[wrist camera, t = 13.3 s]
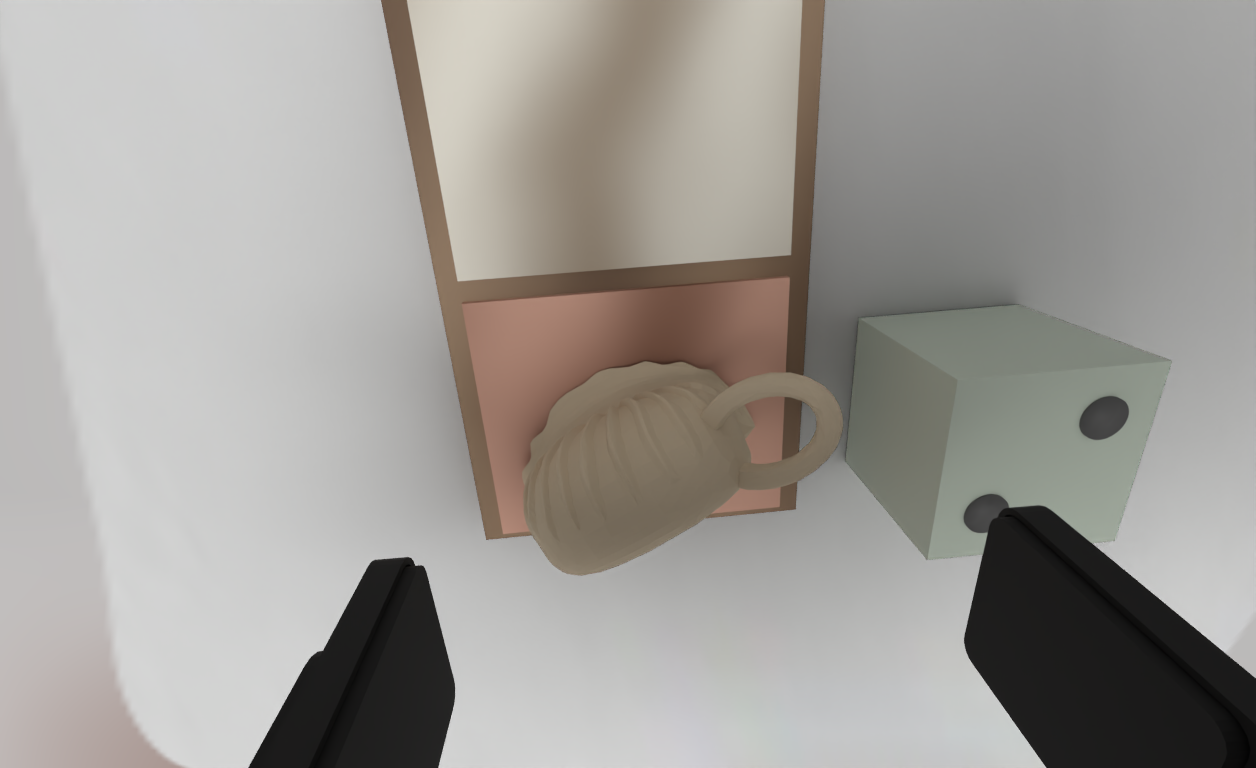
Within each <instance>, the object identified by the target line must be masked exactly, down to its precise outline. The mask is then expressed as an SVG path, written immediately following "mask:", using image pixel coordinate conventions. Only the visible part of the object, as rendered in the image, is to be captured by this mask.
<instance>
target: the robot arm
mask: <svg viewBox="0 0 1256 768" xmlns="http://www.w3.org/2000/svg"><path fill="white" fill-rule="evenodd" d="M964 643H965V649H966V652H967V654H968V657H969V659H970V660H971V662H972V664H973V665H974V666H975V668H976V669H977V671H978V672H979V673H980V675H981V676H982V678H983V679H984V681H985V682H986V683H987V685H988V686H989V688H990V689H991V690H992V692H993V693H994V695H995V696H996V697H997V699H998V700H999V702H1000V703H1001V704H1002V706H1003V707H1004V709H1005V710H1006V711H1007V713H1008V714H1009V716H1010V717H1011V719H1012V720H1013V721H1014V723H1015V724H1016V726H1017V727H1018V728H1019V730H1020V731H1021V733H1022V734H1023V735H1024V737H1025V738H1026V740H1027V741H1028V742H1029V744H1030V745H1031V747H1032V748H1033V749H1034V751H1035V752H1036V754H1037V755H1038V757H1039V758H1040V759H1041V761H1042V762H1043V764H1044V765H1045V766H1046V768H1256V678H1254V677H1253V676H1252V675H1251V674H1250V673H1248V672H1247V671H1246V670H1245V669H1244V668H1242V667H1241V666H1240V665H1239V664H1237V663H1236V662H1235V661H1234V660H1233V659H1231V658H1230V657H1229V656H1228V655H1227V654H1225V653H1224V652H1223V651H1222V650H1221V649H1219V648H1218V647H1217V646H1216V645H1214V644H1213V643H1212V642H1211V641H1210V640H1208V639H1207V638H1206V637H1205V636H1204V635H1202V634H1201V633H1200V632H1199V631H1197V630H1196V629H1195V628H1194V627H1193V626H1191V625H1190V624H1189V623H1188V622H1187V621H1185V620H1184V619H1183V618H1182V617H1180V616H1179V615H1178V614H1177V613H1176V612H1174V611H1173V610H1172V609H1171V608H1170V607H1168V606H1167V605H1166V604H1165V603H1164V602H1162V601H1161V600H1160V599H1159V598H1157V597H1156V596H1155V595H1154V594H1153V593H1151V592H1150V591H1149V590H1148V589H1147V588H1145V587H1144V586H1143V585H1142V584H1140V583H1139V582H1138V581H1137V580H1136V579H1134V578H1133V577H1132V576H1131V575H1130V574H1128V573H1127V572H1126V571H1125V570H1123V569H1122V568H1121V567H1120V566H1119V565H1117V564H1116V563H1115V562H1114V561H1113V560H1111V559H1110V558H1109V557H1108V556H1106V555H1105V554H1104V553H1103V552H1102V551H1100V550H1099V549H1098V548H1097V547H1096V546H1094V545H1093V544H1092V543H1091V542H1089V541H1088V540H1087V539H1086V538H1085V537H1083V536H1082V535H1081V534H1080V533H1079V532H1077V531H1076V530H1075V529H1074V528H1073V527H1071V526H1070V525H1069V524H1068V523H1066V522H1065V521H1064V520H1063V519H1062V518H1060V517H1059V516H1058V515H1057V514H1056V513H1054V512H1053V511H1052V510H1050V509H1049V508H1047V507H1046V506H1041V505H1035V506H1023V507H1011V508H1005V509H1003V510H1002V511H1001V512H1000V513H999V515H998V517H997V518H994V519H993V520H992V521H991V523H990V525H989V529H988V534H987V538H986V543H985V547H984V552H983V556H982V561H981V565H980V569H979V574H978V578H977V583H976V587H975V592H974V596H973V601H972V605H971V609H970V614H969V618H968V623H967V627H966V632H965V637H964ZM454 700H455V683H454V678H453V674H452V670H451V666H450V662H449V659H448V655H447V651H446V647H445V643H444V639H443V635H442V631H441V627H440V623H439V620H438V616H437V612H436V608H435V604H434V600H433V596H432V592H431V588H430V584H429V581H428V577H427V573H426V570H425V568H424V566H421V565H420V566H415V564H414V561H413V560H412V559H411V558H409V557H405V558H393V559H381V560H374V561H372V562H371V563H370V565H369V566H368V568H367V570H366V571H365V573H364V575H363V577H362V579H361V581H360V583H359V585H358V586H357V588H356V590H355V592H354V594H353V596H352V598H351V600H350V601H349V603H348V605H347V607H346V609H345V611H344V613H343V614H342V616H341V618H340V620H339V622H338V624H337V626H336V628H335V629H334V631H333V633H332V635H331V637H330V639H329V641H328V643H327V644H326V646H325V648H324V650H323V651H320V652H317V653H316V654H314V655H313V656H312V657H311V658H310V659H309V661H308V662H307V664H306V665H305V666H304V668H303V670H302V672H301V674H300V675H299V677H298V679H297V681H296V683H295V684H294V686H293V688H292V690H291V692H290V693H289V695H288V697H287V699H286V701H285V703H284V704H283V706H282V708H281V710H280V712H279V713H278V715H277V717H276V719H275V721H274V722H273V724H272V726H271V728H270V730H269V731H268V733H267V735H266V737H265V739H264V740H263V742H262V744H261V746H260V748H259V749H258V751H257V753H256V755H255V757H254V759H253V760H252V762H251V764H250V766H249V768H438V766H439V762H440V758H441V754H442V750H443V746H444V742H445V738H446V734H447V730H448V727H449V723H450V719H451V715H452V711H453V706H454Z"/></svg>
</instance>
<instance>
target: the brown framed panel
mask: <svg viewBox="0 0 1256 768" xmlns="http://www.w3.org/2000/svg"><path fill="white" fill-rule="evenodd" d="M381 2H382V7H383V12H384V18H385V23H386V28H387V33H388V38H389V43H390V48H391V53H392V59H393V64H394V69H395V74H396V79H397V84H398V89H399V94H400V100H401V105H402V110H403V115H404V120H405V125H406V130H407V136H408V141H409V146H410V151H411V156H412V161H413V166H414V171H415V177H416V182H417V187H418V192H419V197H420V202H421V207H422V212H423V218H424V223H425V228H426V233H427V238H428V243H429V248H430V253H431V259H432V264H433V269H434V274H435V279H436V284H437V289H438V294H439V300H440V305H441V310H442V315H443V320H444V325H445V330H446V335H447V341H448V346H449V351H450V356H451V361H452V366H453V371H454V376H455V382H456V387H457V392H458V397H459V402H460V407H461V412H462V418H463V423H464V428H465V433H466V438H467V443H468V448H469V453H470V459H471V464H472V469H473V474H474V479H475V484H476V489H477V494H478V500H479V505H480V510H481V515H482V520H483V525H484V530H485V535H486V540H489V539H499V538H509V537H519V536H529V535H532V534H531V533H530V531H529V529H528V526H527V524H526V521H525V516H524V506H523V492H524V487H525V486H524V482H523V479H522V472H523V469H524V468H525V467H526V465H527V464H528V463H529V461H530V459H531V445H530V443H531V442H532V440H533V439H534V438H535V437H536V436H537V435H539V434H540V433H541V432H543V430H544V428H545V427H546V425H547V421H548V417H549V413H550V410H551V409H552V408H553V406H554V405H555V404H556V402H557V401H558V400H559V399H560V398H561V397H563V396H564V395H565V394H567V393H568V392H570V391H572V390H573V389H575V388H577V387H579V386H581V385H582V384H584V383H585V382H586V381H587V380H589V379H590V378H591V377H592V376H593V375H594V374H596V373H597V372H600V371H602V370H605V369H609V368H623V367H630V366H633V365H636V364H639V363H642V362H644V361H648V362H652V363H656V364H661V365H667V364H672V363H676V362H685V363H687V364H690V365H692V366H694V367H696V368H699V369H708V370H711V371H713V372H714V373H716V374H717V375H718V376H719V377H720V379H721V380H722V381H723V382H724V383H725V384H726V385H728V386H729V387H731V386H732V385H734V384H736V383H738V382H740V381H742V380H744V379H746V378H749V377H753V376H757V375H761V374H766V373H790V372H791V373H795V374H799V375H803V371H804V354H805V337H806V319H807V302H808V284H809V267H810V250H811V232H812V215H813V198H814V180H815V163H816V145H817V128H818V111H819V93H820V76H821V58H822V41H823V24H824V6H825V0H381ZM801 406H802V401H800V400H797V399H794V398H791V397H779V396H776V397H767V398H763V399H759V400H756V401H752V402H749V403H747V404H745V407H746V409H747V410H748V412H749V414H750V416H751V418H752V420H753V422H754V424H755V428H754V429H753V430H752V431H751V433H750V434H749V435H748V437H747V438H746V439H745V440H746V442H747V445H748V447H749V450H750V453H751V463H754V464H768V463H773V462H778V461H781V460H784V459H787V458H790V457H792V456H794V455H795V454H797V453H799V441H800V424H801ZM796 493H797V482H794V483H792V484H789V485H786V486H783V487H779V488H776V489H768V490H745V489H739V490H738V491H737V492H736V493H735V494H734V495H733V496H732V497H731V498H730V499H729V500H728V501H727V502H726V503H724V504H723V505H722V506H721V507H719V508H718V509H717V510H715V511H714V512H713V513H711V514H710V515H708V516H707V517H706V518H713V517H723V516H733V515H743V514H753V513H764V512H774V511H784V510H794V509H796Z"/></svg>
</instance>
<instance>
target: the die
mask: <svg viewBox="0 0 1256 768" xmlns="http://www.w3.org/2000/svg"><path fill="white" fill-rule="evenodd" d="M1171 363H1172V361H1171V360H1169V359H1166V358H1163V357H1160V356H1158V355H1155V354H1152V353H1149V352H1147V351H1144V350H1141V349H1139V348H1136V347H1133V346H1130V345H1128V344H1125V343H1122V342H1120V341H1117V340H1114V339H1111V338H1109V337H1106V336H1103V335H1100V334H1098V333H1095V332H1092V331H1090V330H1087V329H1084V328H1081V327H1079V326H1076V325H1073V324H1071V323H1068V322H1065V321H1062V320H1060V319H1057V318H1054V317H1051V316H1049V315H1046V314H1043V313H1041V312H1038V311H1035V310H1032V309H1030V308H1027V307H1024V306H1022V305H1019V304H1018V305H1006V306H994V307H982V308H971V309H959V310H947V311H935V312H923V313H911V314H899V315H887V316H876V317H864V318H859V322H858V332H857V343H856V354H855V364H854V375H853V386H852V396H851V407H850V418H849V428H848V439H847V450H846V460H845V462H846V463H847V464H848V465H849V466H850V468H851V469H852V470H853V471H854V472H855V474H856V475H857V476H858V477H859V478H860V480H861V481H862V482H863V483H864V484H865V486H866V487H867V488H868V489H869V490H870V492H871V493H872V494H873V495H874V497H875V498H876V499H877V500H878V501H879V503H880V504H881V505H882V506H883V507H884V509H885V510H886V511H887V512H888V513H889V515H890V516H891V517H892V518H893V519H894V521H895V522H896V523H897V524H898V525H899V527H900V528H901V529H902V530H903V531H904V533H905V534H906V535H907V536H908V538H909V539H910V540H911V541H912V542H913V544H914V545H915V546H916V547H917V548H918V550H919V551H920V552H921V553H922V554H923V556H924V557H925V558H926V559H927V560H933V559H943V558H953V557H962V556H972V555H982V554H983V552H984V547H985V543H986V538H987V534H988V529H989V525H990V523H991V521H992V520H993V519H994V518H997V517H998V515H999V513H1000V512H1001V511H1002V510H1003V509H1005V508H1011V507H1023V506H1035V505H1041V506H1046V507H1047V508H1049V509H1050V510H1052V511H1053V512H1054V513H1056V514H1057V515H1058V516H1059V517H1060V518H1062V519H1063V520H1064V521H1065V522H1066V523H1068V524H1069V525H1070V526H1071V527H1073V528H1074V529H1075V530H1076V531H1077V532H1079V533H1080V534H1081V535H1082V536H1083V537H1085V538H1086V539H1087V540H1088V541H1089V542H1091V543H1099V542H1108V541H1115V538H1116V535H1117V532H1118V528H1119V525H1120V522H1121V519H1122V516H1123V513H1124V510H1125V507H1126V504H1127V500H1128V497H1129V494H1130V491H1131V488H1132V485H1133V482H1134V479H1135V476H1136V472H1137V469H1138V466H1139V463H1140V460H1141V457H1142V454H1143V451H1144V448H1145V444H1146V441H1147V438H1148V435H1149V432H1150V429H1151V426H1152V423H1153V419H1154V416H1155V413H1156V410H1157V407H1158V404H1159V401H1160V398H1161V395H1162V391H1163V388H1164V385H1165V382H1166V379H1167V376H1168V373H1169V370H1170V367H1171Z"/></svg>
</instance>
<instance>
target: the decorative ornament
mask: <svg viewBox="0 0 1256 768" xmlns="http://www.w3.org/2000/svg"><path fill="white" fill-rule="evenodd" d="M776 396H779V397H791V398H794V399H797V400H800V401H802V402H804V403H805V404H807V405H808V406H810V407H811V409H812V410H813V412H814V413H815V416H816V431H815V433H814V436H813V438H812V439H811V441H810V443H809V444H807V445H806V446H805V447H804V448H803V449H802V450H801V451H800V452H799V453H797V454H795V455H794V456H792V457H790V458H787V459H784V460H781V461H778V462H773V463H768V464H754V463H751V453H750V450H749V447H748V445H747V442H746V440H745V439H746V438H747V437H748V435H749V434H750V433H751V431H752V430H753V429H754V428H755V424H754V422H753V420H752V418H751V416H750V414H749V412H748V410H747V409H746V407H745V404H747V403H749V402H752V401H756V400H759V399H763V398H767V397H776ZM842 430H843V417H842V412H841V408H840V406H839V404H838V402H837V400H836V399H835V397H834V396H833V395H832V393H831V392H830V391H829V390H828V389H827V388H825V387H824V386H823V385H822V384H820V383H818V382H816V381H814V380H813V379H811V378H809V377H806V376H803V375H799V374H795V373H791V372H790V373H766V374H761V375H757V376H753V377H749V378H746V379H744V380H742V381H740V382H738V383H736V384H734V385H732V386H731V387H729V386H728V385H726V384H725V383H724V382H723V381H722V380H721V379H720V377H719V376H718V375H717V374H716V373H714V372H713V371H711V370H708V369H699V368H696V367H694V366H692V365H690V364H687V363H685V362H676V363H672V364H667V365H661V364H656V363H652V362H648V361H644V362H642V363H639V364H636V365H633V366H630V367H623V368H609V369H605V370H602V371H600V372H597V373H596V374H594V375H593V376H592V377H591V378H590V379H589V380H587V381H586V382H585V383H584V384H582V385H581V386H579V387H577V388H575V389H573V390H572V391H570V392H568V393H567V394H565V395H564V396H563V397H561V398H560V399H559V400H558V401H557V402H556V404H555V405H554V406H553V408H552V409H551V410H550V413H549V417H548V421H547V425H546V427H545V428H544V430H543V432H541V433H540V434H539V435H537V436H536V437H535V438H534V439H533V440H532V442H531V443H530V445H531V459H530V461H529V463H528V464H527V465H526V467H525V468H524V469H523V472H522V479H523V482H524V486H525V487H524V492H523V506H524V516H525V521H526V524H527V526H528V529H529V531H530V533H531V534H532V536H533V538H534V539H535V540H536V542H537V543H538V545H539V546H540V548H541V549H542V551H543V552H544V554H545V556H546V557H547V558H548V560H549V561H550V562H551V563H552V564H553V565H554V566H555V567H557V568H558V569H559V570H561V571H562V572H565V573H567V574H572V575H587V574H592V573H597V572H602V571H605V570H607V569H610V568H613V567H616V566H619V565H621V564H623V563H625V562H628V561H630V560H632V559H634V558H636V557H638V556H641V555H643V554H645V553H647V552H649V551H651V550H653V549H655V548H656V547H658V546H660V545H661V544H663V543H665V542H667V541H668V540H670V539H672V538H674V537H675V536H677V535H679V534H681V533H682V532H684V531H686V530H687V529H689V528H691V527H693V526H694V525H696V524H698V523H699V522H700V521H702V520H703V519H704V518H706V517H707V516H708V515H710V514H711V513H713V512H714V511H715V510H717V509H718V508H719V507H721V506H722V505H723V504H724V503H726V502H727V501H728V500H729V499H730V498H731V497H732V496H733V495H734V494H735V493H736V492H737V491H738V490H739V489H745V490H768V489H776V488H779V487H783V486H786V485H789V484H792V483H794V482H797V481H799V480H801V479H803V478H804V477H806V476H808V475H809V474H811V473H812V472H814V471H815V470H817V469H818V468H819V467H820V466H821V465H822V464H823V463H824V462H825V461H826V460H827V459H828V458H829V457H830V456H831V454H832V453H833V452H834V450H835V449H836V448H837V445H838V442H839V440H840V437H841V435H842Z"/></svg>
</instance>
